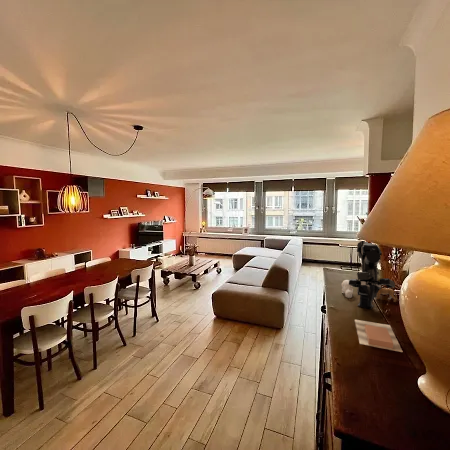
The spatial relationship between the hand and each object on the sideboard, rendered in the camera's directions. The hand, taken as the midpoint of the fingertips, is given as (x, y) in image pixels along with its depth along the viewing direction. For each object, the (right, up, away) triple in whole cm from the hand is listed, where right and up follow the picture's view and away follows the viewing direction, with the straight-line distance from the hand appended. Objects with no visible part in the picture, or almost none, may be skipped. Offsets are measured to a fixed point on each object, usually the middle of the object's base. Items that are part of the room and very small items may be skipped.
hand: (370, 301), depth 116 cm
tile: (-4, -8, -11) cm, 14 cm away
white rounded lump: (+6, -7, +34) cm, 35 cm away
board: (-5, -11, -12) cm, 17 cm away
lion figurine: (+24, -8, +29) cm, 38 cm away
